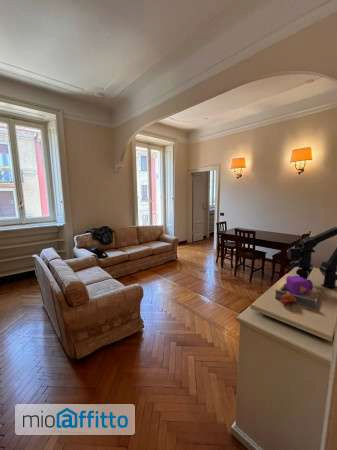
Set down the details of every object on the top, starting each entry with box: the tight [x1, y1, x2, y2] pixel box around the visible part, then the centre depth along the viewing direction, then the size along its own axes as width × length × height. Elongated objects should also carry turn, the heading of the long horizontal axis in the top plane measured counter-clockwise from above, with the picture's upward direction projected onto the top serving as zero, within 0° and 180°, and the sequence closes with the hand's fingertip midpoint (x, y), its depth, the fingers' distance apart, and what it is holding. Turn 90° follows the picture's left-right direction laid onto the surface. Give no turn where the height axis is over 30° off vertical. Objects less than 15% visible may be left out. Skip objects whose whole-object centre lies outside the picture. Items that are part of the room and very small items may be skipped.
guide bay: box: [275, 282, 321, 311], centre depth 120 cm, size 20×19×5 cm
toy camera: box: [285, 274, 314, 296], centre depth 125 cm, size 11×14×10 cm
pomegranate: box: [280, 291, 297, 310], centre depth 111 cm, size 7×7×10 cm
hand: (304, 281), depth 133 cm, fingers open, 8 cm apart
